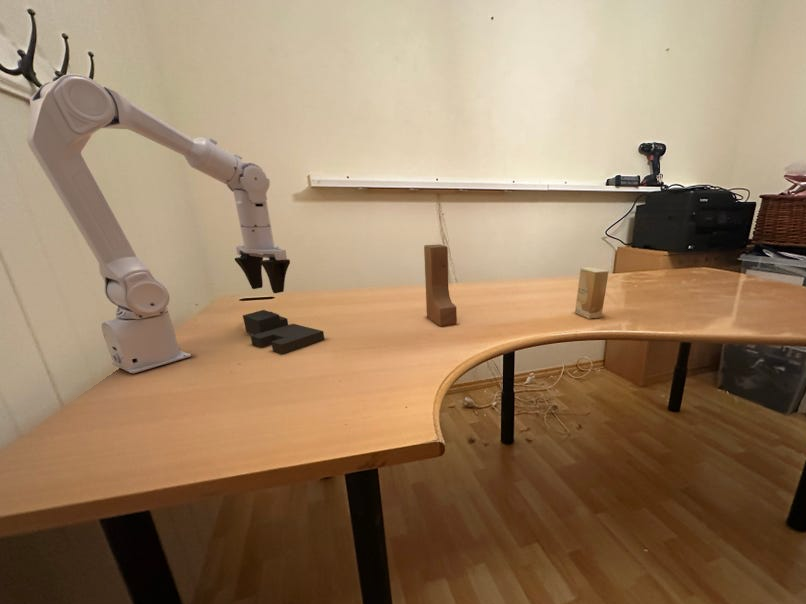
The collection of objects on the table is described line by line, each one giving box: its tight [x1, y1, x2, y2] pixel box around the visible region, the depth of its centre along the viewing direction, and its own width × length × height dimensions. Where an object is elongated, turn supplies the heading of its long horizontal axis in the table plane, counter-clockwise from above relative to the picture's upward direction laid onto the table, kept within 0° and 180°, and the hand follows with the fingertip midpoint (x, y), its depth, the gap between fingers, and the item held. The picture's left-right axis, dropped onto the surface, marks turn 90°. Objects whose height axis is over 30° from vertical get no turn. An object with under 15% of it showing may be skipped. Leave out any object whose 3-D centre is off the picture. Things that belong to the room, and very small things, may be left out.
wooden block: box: [423, 244, 458, 327], centre depth 97 cm, size 9×4×18 cm, turn 28°
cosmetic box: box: [574, 266, 609, 320], centre depth 104 cm, size 6×4×12 cm
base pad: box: [250, 323, 325, 355], centre depth 84 cm, size 10×10×2 cm
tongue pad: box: [242, 309, 289, 335], centre depth 90 cm, size 8×6×4 cm
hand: (267, 290), depth 90 cm, fingers open, 7 cm apart
